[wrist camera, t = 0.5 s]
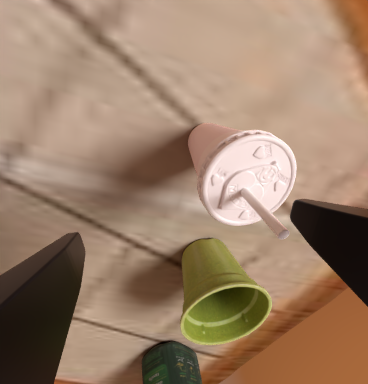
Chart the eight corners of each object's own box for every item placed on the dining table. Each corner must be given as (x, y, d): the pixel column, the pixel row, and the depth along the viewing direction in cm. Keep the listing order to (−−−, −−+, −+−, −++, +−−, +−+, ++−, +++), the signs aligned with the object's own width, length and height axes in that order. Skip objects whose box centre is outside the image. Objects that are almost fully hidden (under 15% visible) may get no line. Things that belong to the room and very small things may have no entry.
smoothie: (160, 138, 21) (199, 229, 9) (215, 92, 20) (337, 126, 8) (198, 183, 24) (264, 294, 12) (247, 145, 23) (371, 226, 11)
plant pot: (200, 289, 33) (221, 354, 25) (152, 262, 28) (160, 331, 21) (250, 249, 31) (287, 306, 24) (206, 213, 27) (236, 269, 19)
